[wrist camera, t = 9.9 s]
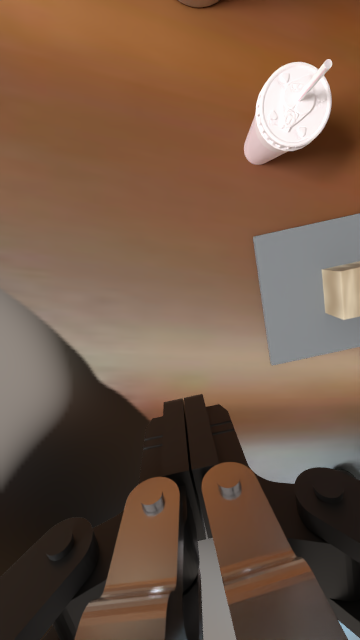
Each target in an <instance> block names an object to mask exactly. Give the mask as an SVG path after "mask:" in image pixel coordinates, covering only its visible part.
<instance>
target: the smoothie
mask: <svg viewBox="0 0 360 640" xmlns="http://www.w3.org/2000/svg"><path fill="white" fill-rule="evenodd" d="M331 66H332V61H331V60H330V59H327V60H326V61H325V62H324V63H323V65H322V66H321V67H320V68H319V69H317V68H316V67H314V66H312V65H310V64H308V63H304V62H293V63H289V64H286V65H284V66H282V67H281V68H279V69H278V70H276V71H275V72H274V73H273V74H272V75H271V76H270V78H269V79H268V81H267V82H266V83H265V84H264V86H263V88H262V90H261V92H260V93H259V97H258V100H257V104H256V114H255V117H254V120H253V122H252V125H251V128H250V130H249V133H248V136H247V138H246V141H245V144H244V153H245V156H246V158H247V159H248V160H249V161H250V162H251V163H253V164H256V165H261V164H264V163H266V162H268V161H270V160H272V159H274V158H276V157H278V156H280V155H282V154H284V153H286V152H288V151H294V150H298V149H301V148H303V147H305V146H306V145H308V144H310V143H311V142H312V141H313V140H314V139H315V138H316V137H317V136H318V135H319V134H320V132H321V131H322V130H323V128H324V127H325V125H326V123H327V121H328V118H329V115H330V111H331V103H332V98H331V91H330V87H329V84H328V82H327V80H326V78H325V76H324V74H325V73H326V72H327V71H328V70H329V69H330V67H331Z"/></svg>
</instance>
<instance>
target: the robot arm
mask: <svg viewBox="0 0 360 640" xmlns="http://www.w3.org/2000/svg"><path fill="white" fill-rule="evenodd" d="M178 1H180V2H181V3H183V4H186V5H188V6H192V7H206V6H210V5H212V4H214V3H217V2H218V1H220V0H178ZM184 403H185V405H184ZM143 449H144V450H143V454H142V463H141V470H140V478H139V485H138V486H137V487H135V489H133V491H132V492H131V493H130V495H129V497H128V498H127V501H126V504H125V508H124V510H123V511H122V512H121V513H120V514H118V515H117V516H115V517H113V518H111V519H110V520H108V521H106V522H104V523H102V524H101V525H98V526H96V527H94V528H92V526H91V524H90V522H89V521H88V520H86V519H84V518H81V517H74V518H69V519H66V520H64V521H62V522H60V523H58V524H57V525H55V526H54V527H52V528H51V529H50V530H49V531H48V532H46V533H45V534H44V535H43V536H42V537H41V538H40V539H39V540H38V541H37V542H36V543H35V544H34V545H33V546H32V547H31V548H30V549H29V550H28V551H27V552H26V553H25V554H24V555H23V556H22V557H21V558H20V559H19V560H18V561H16V562H15V563H14V564H13V565H12V566H11V567H10V568H9V569H8V570H7V571H6V572H5V573H4V574H3V575H2V576H1V577H0V640H40V639H41V638H42V636H43V635H44V634H45V633H46V631H47V630H48V629H49V627H50V626H51V625H52V624H53V627H52V628H51V629H50V631H49V632H48V633H47V634H46V636H45V637H44V638H43V640H203V616H202V589H201V572H200V568H199V551H198V541H199V540H204V539H206V535H205V527H204V522H205V526H206V530H207V535H208V538H213V541H214V545H215V549H216V553H217V558H218V562H219V567H220V571H221V575H222V579H223V584H224V589H225V593H226V597H227V601H228V606H229V610H230V615H231V619H232V623H233V628H234V632H235V636H236V640H348V639H347V637H346V635H345V633H344V631H343V629H342V627H341V625H340V624H339V621H340V622H341V623H343V624H344V625H345V626H346V627H347V628H348V629H350V630H351V631H352V632H353V633H354V634H355V635H357V636H358V637H359V638H360V480H357V479H355V478H353V477H351V476H348V475H346V474H344V473H342V472H339V471H337V470H334V469H330V468H321V467H318V468H311V469H308V470H306V471H304V472H302V473H301V474H300V475H299V476H298V477H297V479H296V481H295V484H289V483H278V482H272V481H268V480H266V479H263V478H261V477H259V476H258V475H257V474H255V473H254V472H253V471H252V470H251V469H250V467H249V466H248V464H247V461H246V459H245V456H244V453H243V451H242V448H241V445H240V443H239V440H238V437H237V435H236V432H235V430H234V427H233V424H232V422H231V419H230V416H229V413H228V411H227V410H226V409H224V408H223V407H222V406H221V405H219V404H218V405H214V406H209V407H205V403H204V399H203V394H200V395H195V396H191V397H186V398H184V401H183V398H182V399H177V400H172V401H168V402H164V410H163V416H162V417H158V418H153V419H152V420H151V422H150V423H149V425H148V426H147V428H146V431H145V441H144V447H143ZM203 518H204V520H203ZM338 620H339V621H338Z"/></svg>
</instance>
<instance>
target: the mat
mask: <svg viewBox="0 0 360 640" xmlns="http://www.w3.org/2000/svg"><path fill="white" fill-rule="evenodd" d="M253 242H254V249H255V256H256V263H257V270H258V277H259V284H260V291H261V298H262V306H263V313H264V320H265V327H266V334H267V341H268V348H269V355H270V362H271V365H277V364H281V363H286V362H291V361H295V360H300V359H305V358H309V357H314V356H319V355H323V354H328V353H333V352H337V351H342V350H347V349H351V348H356V347H360V316H359V317H355V318H350V319H345V320H342V319H340V318H337V317H335V316H332V315H329V314H327V313H325V304H324V291H323V279H322V269H326V268H331V267H335V266H340V265H345V264H349V263H354V262H358V261H360V213H359V214H355V215H350V216H346V217H341V218H337V219H332V220H328V221H323V222H319V223H314V224H309V225H305V226H300V227H296V228H291V229H287V230H282V231H278V232H273V233H269V234H264V235H260V236H255V237H253Z"/></svg>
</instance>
